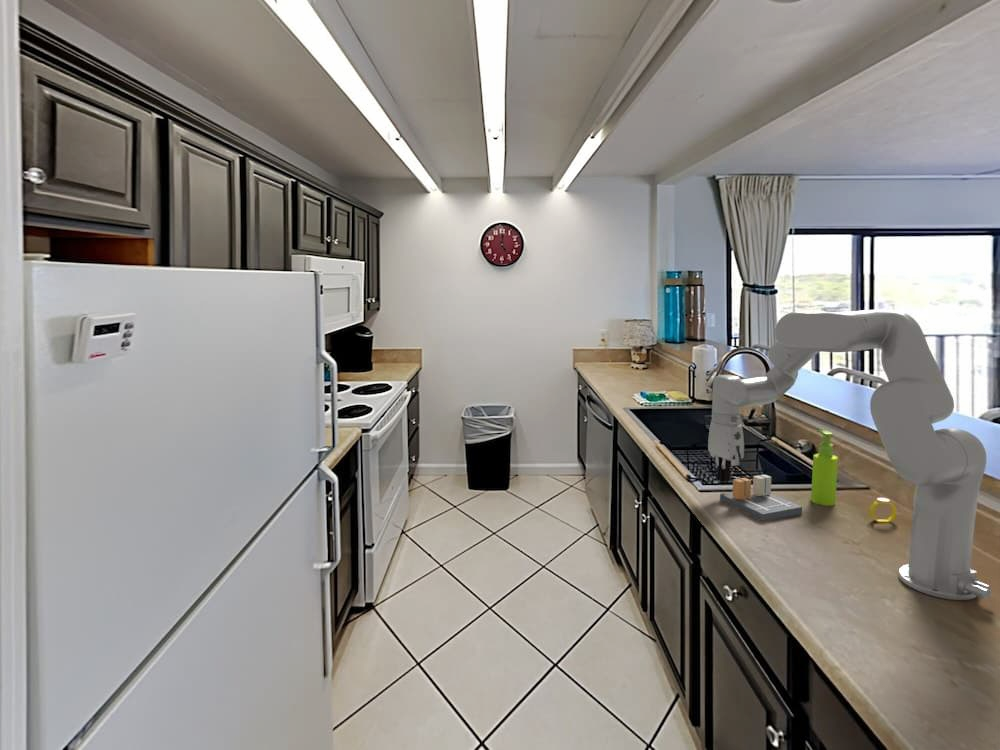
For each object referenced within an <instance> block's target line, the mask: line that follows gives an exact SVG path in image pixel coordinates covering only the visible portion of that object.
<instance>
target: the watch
mask: <svg viewBox="0 0 1000 750" xmlns="http://www.w3.org/2000/svg"><path fill="white" fill-rule="evenodd" d="M881 504H882V505H890V506H891V510H892V511H891V514H890V516H888V518H885V519H884V518H883V519H877V518H876V517H875V515H874V513H875V512H874V511H875V509H876V508H877V506H879V505H881ZM868 514H869V516H870V517H871V519H872V520H873V521H875V522H876V523H878V524H879V523H891V522H893V521H894V520H895V518H897V514H898V510H897V507H896V505H895V504H894V503H893V502H891V500H890V499H889V498H886V497H877V498H876V500H875V501H873V502H872V503H871V505H870V506H869V510H868Z"/></svg>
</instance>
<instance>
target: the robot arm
mask: <svg viewBox="0 0 1000 750" xmlns="http://www.w3.org/2000/svg"><path fill="white" fill-rule="evenodd" d="M774 337H775V339H776V341H775V342H774V344H772V346H770V348H769V350H768V352H767V355H768V359H769V362H770V363H771V364H772V365H773V367H772V368H771V369H769V370H768V371H767V373H765V374H764V375H763V376H757V377H748V378H741V377H740V376H737V375H735V374H719V375H716V376H715V377H714V378H713V380H712V401H711V402H712V403H711V404H712V407H711V421H710V425H709V430H708V431H709V432H708V439H707V448H708V453H709V455H710V457H711V458H713V459H714V460H715V466H716V468H717V471H716V472H717V473H716V475H717V476H716V480H717V481H719V482H721V483H723V482H728V481H730V480H731V469H732V468H733V466H739V465H740V460H743V459H744V456H745V442H744V441H745V437H744V431H743V426H742V425H741V422H742V419H741V411H742V410H741V409H742V408H747V407H748V408H749V407H754V406H760V405H768V404H771V403H774V402H775V401H777V400H778V399H780V398H781V397H782V396H784V395H785V394H786V393H787V392H788V391H789V390H790V389H791V388H793V386H794V385H795V384H796V381H797V378H798V376H799V371H800V370H801V369H802V368H803V367H804V366H805V365H806V364H807V363H808V362H810V361H811V360H812V358H814V357H815V356H817V354H819V353H820V352H822V353H823V352H825V353H848V352H849V353H850V352H857V351H858V352H859V351H865V350H866V351H867V350H873V349H875V350H876V349H880V350H881V353H880V358H881V359H880V361H881V366H882V368H883V371H884V373H885V375H886V378H887V380H888V381H887V382H884V383H882V384H880V385H879V386H878V387H877V388H876V389H875V390H874V391H873V393H872V395H871V397H870V403H869V407H870V409H869V411H870V414H871V418H872V421H873V423H874V425H875V428H876V430H877V433H878V435H879V437H880V440H881V443H882V445H883V448H884V450H885V452H886V454H887V457H888V458H889V459H888V460H889V461H890V463H891V466H892V467H893V469H894V470H895V473H897V474H898V475H899V476H900V477H901V478H902V479H903V480H905V481H906V482H908V483H910V484H912V485H915V492H914V497H913V506H912V508H913V510H912V522H911V533H910V534H911V535H910V545H909V557H908V564H903V565H902V566H901V567H899V568H898V573H897V574H898V578H899V579H900V580H901V582H903V583H904V584H905V585H907V586H908V587H910V588H912V589H914V590H916V591H918V592H920V593H922V594H924V595H925V594H926V595H929V596H933V597H935V598H940V599H944V600H945V599H946V600H952V601H969V600H973V599H975V598H977V597H978V598H980V599H982V600H984V601H987V600H989V598H990V596H991V591H992V586H991V585H988V584H986V583H984V582H982V581H979V580H978V578H977V571H976V570H974V569H971V565H972V553H973V545H974V544H973V541H974V533H975V524H976V523H975V521H976V516H977V506H978V499H979V498H978V497H979V493H980V488H981V484H982V480H983V477H984V474H985V470H986V465H987V452H986V448H985V446H984V444H983V443H982V442H981V440H980V439H979V438H978V437H977V436H976V435H974V434H973V433H971V432H969V431H967V430H965V429H959V428H952V427H951V428H941V429H936V430H935V428H934V426H933V424H936V423H939V422H942V421H944V420H946V419H948V418H949V417H950V416H951V415H952V413H953V411H954V408H955V402H954V397H953V394H952V393H951V391H950V389H949V386H948V384H947V382H946V380H945V378H944V376H943V374H942V371H941V370H940V368H939V367H940V366H939V365H938V363H937V361H936V359H935V357H934V356H933V353H932V351H931V349H930V346H929V344H928V341H927V339H926V337H925V335H924V332H923V330H922V328H921V326H920V325H919V323H918V322H917V321H916V320H915V318H913V317H912V316H911V315H909V314H907V313H905V312H903V311H899V310H894V309H865V310H864V309H863V310H856V311H855V310H853V311H852V310H851V311H840V312H839V311H838V312H836V311H835V312H833V311H832V312H826V311H823V310H801V311H792V312H788V313H786V314H785V315H783V316H781V318H779V320H778V321H777V323H776V325H775V327H774Z"/></svg>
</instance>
